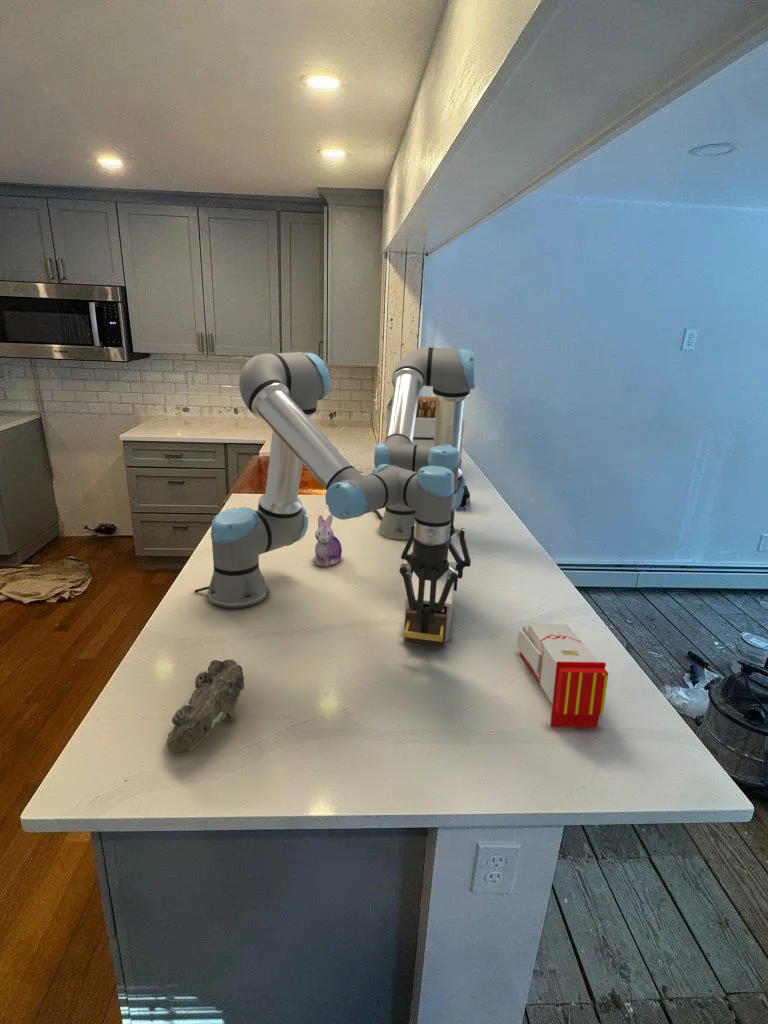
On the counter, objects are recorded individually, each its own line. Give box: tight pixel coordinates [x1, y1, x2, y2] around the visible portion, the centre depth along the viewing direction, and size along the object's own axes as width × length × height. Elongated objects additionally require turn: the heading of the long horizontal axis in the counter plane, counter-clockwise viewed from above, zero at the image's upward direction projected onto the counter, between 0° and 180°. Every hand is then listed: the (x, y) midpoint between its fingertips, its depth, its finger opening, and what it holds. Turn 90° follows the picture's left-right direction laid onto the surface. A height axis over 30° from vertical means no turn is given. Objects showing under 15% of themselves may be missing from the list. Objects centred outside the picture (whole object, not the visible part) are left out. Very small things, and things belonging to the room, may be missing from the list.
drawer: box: [402, 604, 447, 649], centre depth 138 cm, size 26×10×8 cm, turn 170°
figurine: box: [314, 513, 343, 567], centre depth 173 cm, size 9×10×15 cm
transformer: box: [385, 395, 465, 471], centre depth 268 cm, size 34×33×41 cm
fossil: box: [166, 658, 245, 754], centre depth 106 cm, size 22×10×15 cm
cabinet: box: [403, 561, 457, 642], centre depth 145 cm, size 21×11×10 cm, turn 170°
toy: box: [516, 623, 609, 728], centre depth 121 cm, size 12×13×30 cm
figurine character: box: [456, 484, 471, 512], centre depth 229 cm, size 7×8×15 cm
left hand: (423, 635), depth 128 cm, fingers closed
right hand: (433, 586), depth 151 cm, fingers closed on cabinet, 11 cm apart
